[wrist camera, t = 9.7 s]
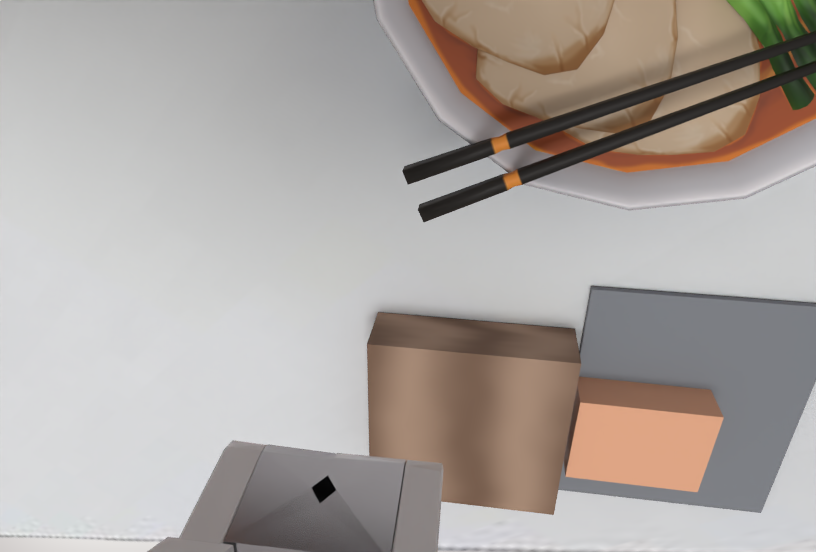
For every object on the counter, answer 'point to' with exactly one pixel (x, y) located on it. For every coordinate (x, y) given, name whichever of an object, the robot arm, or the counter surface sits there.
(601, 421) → the terracotta tile
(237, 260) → the counter surface
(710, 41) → the ramen bowl
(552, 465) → the brown wooden square block
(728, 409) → the rubber mat
